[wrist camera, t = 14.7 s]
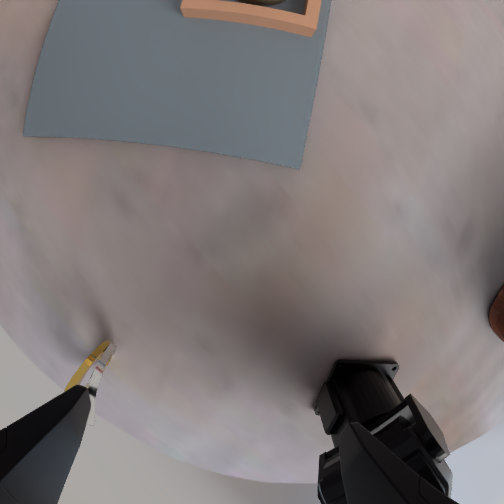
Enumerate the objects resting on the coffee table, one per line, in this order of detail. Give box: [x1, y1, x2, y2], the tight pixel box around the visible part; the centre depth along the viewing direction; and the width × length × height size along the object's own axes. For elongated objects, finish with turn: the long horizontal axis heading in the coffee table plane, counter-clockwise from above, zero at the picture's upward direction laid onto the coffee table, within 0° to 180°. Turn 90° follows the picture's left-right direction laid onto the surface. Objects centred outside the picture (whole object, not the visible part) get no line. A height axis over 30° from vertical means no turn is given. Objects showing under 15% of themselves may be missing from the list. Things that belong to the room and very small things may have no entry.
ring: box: [58, 340, 116, 426], centre depth 19 cm, size 7×3×8 cm, turn 144°
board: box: [23, 0, 331, 170], centre depth 14 cm, size 20×18×2 cm
